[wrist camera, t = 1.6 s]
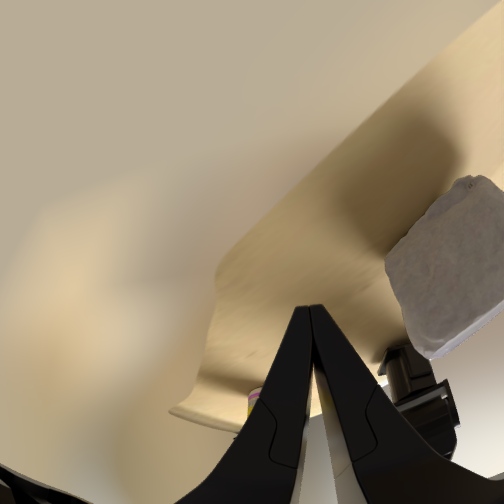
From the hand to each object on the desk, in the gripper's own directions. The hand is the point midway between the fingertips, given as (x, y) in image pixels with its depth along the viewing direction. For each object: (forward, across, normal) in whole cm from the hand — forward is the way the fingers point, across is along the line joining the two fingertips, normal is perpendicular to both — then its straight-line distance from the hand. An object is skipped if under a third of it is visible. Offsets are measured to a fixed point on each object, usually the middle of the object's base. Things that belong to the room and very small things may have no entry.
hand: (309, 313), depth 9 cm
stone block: (+12, -12, +5) cm, 17 cm away
